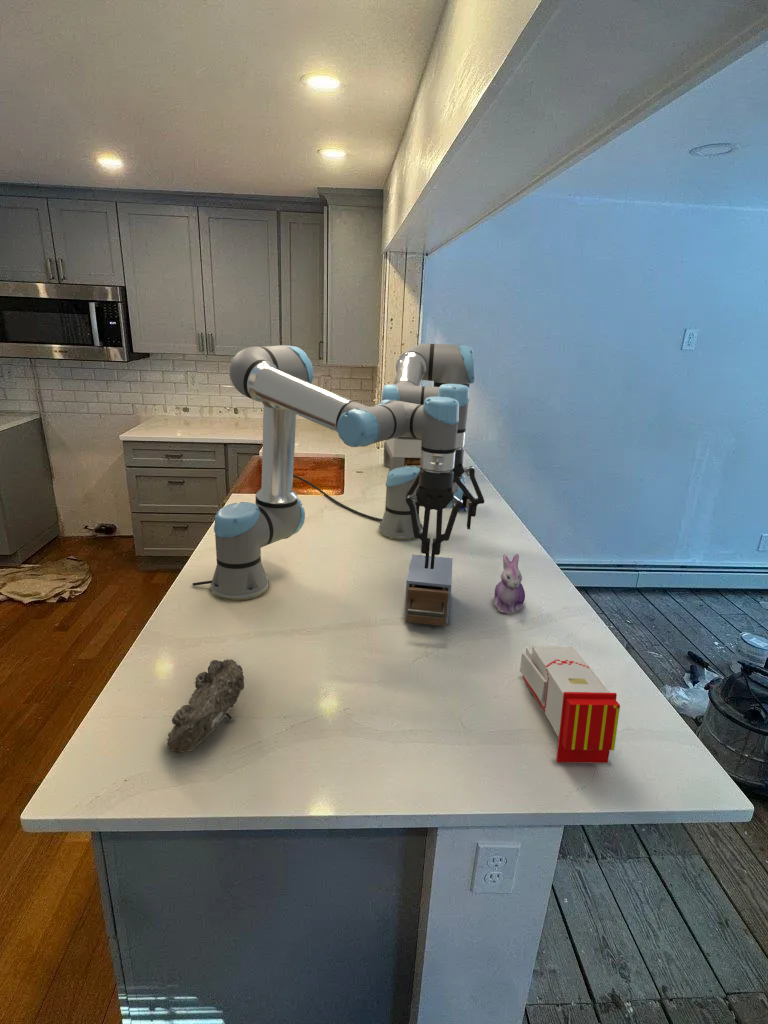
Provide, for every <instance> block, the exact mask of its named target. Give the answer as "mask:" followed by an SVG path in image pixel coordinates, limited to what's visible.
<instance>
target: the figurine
mask: <svg viewBox="0 0 768 1024" xmlns="http://www.w3.org/2000/svg"><path fill="white" fill-rule="evenodd" d="M511 559H512V560H510V559H509V557H508V555H506V554H503V555H502V565H503V566H502V567H503V570H502V572H501V574H500V579H501V581H499V582H498V583H497V584H496V585H495V588H494V597H493V606H494V607H495V608H496V609H497V611H498V612H499V613H503V614H510V615H512V614H514V613H518V612H520V611H521V610H522V609H523V606H524V603H525V599H526V592H525V589H524V585H523V584H522V580H523V576H522V573H521V570H520V569H519V561H520V555H519V553H515V554H514V555H513V557H512V558H511Z"/></svg>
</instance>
